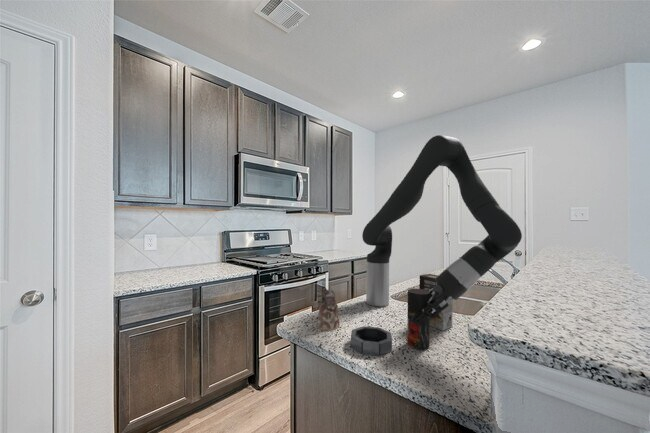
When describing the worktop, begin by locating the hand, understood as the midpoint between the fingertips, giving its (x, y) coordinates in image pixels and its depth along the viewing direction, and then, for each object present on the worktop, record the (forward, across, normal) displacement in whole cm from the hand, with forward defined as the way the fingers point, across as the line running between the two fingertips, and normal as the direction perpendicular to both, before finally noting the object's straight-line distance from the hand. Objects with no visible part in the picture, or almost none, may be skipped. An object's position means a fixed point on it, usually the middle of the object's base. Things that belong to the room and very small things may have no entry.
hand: (412, 318), depth 79 cm
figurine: (+23, -8, -13) cm, 28 cm away
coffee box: (-2, -17, +12) cm, 21 cm away
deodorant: (+4, 0, +6) cm, 8 cm away
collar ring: (+13, +3, -3) cm, 14 cm away
